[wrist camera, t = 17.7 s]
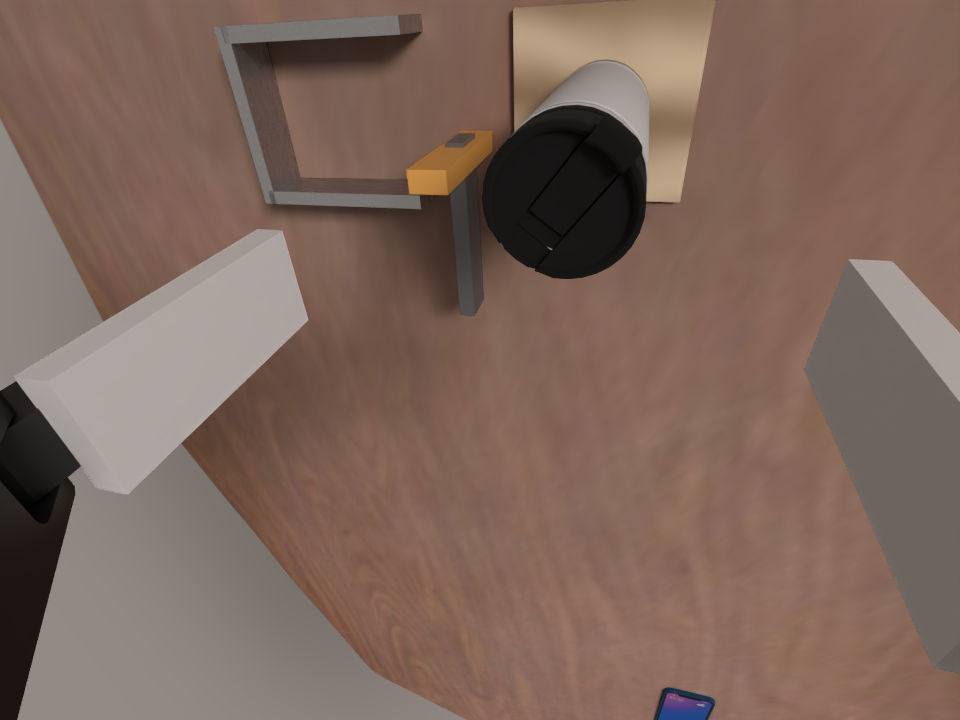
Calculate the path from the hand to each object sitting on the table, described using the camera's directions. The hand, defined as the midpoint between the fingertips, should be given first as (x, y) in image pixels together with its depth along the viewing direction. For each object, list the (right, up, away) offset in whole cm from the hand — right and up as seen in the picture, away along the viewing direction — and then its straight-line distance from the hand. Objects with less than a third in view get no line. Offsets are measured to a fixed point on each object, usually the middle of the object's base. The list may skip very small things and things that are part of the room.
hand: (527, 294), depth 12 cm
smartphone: (+31, -57, +67) cm, 94 cm away
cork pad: (+7, +16, +22) cm, 28 cm away
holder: (-12, +18, +27) cm, 34 cm away
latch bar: (-1, +10, +28) cm, 30 cm away
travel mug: (+7, +15, +22) cm, 27 cm away
